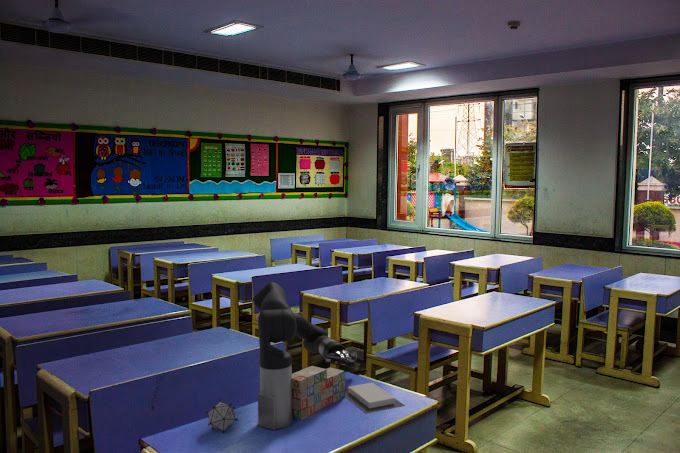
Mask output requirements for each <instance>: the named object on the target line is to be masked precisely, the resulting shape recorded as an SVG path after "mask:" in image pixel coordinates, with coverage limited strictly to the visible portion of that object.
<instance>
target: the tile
mask: <svg viewBox="0 0 680 453" xmlns="http://www.w3.org/2000/svg"><path fill="white" fill-rule="evenodd" d="M347 388H348V392H349V393H350V394H351V395H353V396H354V397H355V398H357V399H358V400H359V401H360V402H362V403H363V404H364V405H365V406H367V407H368V408H376V407H381V406H386V405H391V404H395V399H396V398H395V397H394V396H393V395H391V394H390V393H388V391H385V390H384V389H382V388H381V387H379V386H378V385H377V384H375V383H374V382H368V383H363V384H362V383H361V384H355V385H351V386H348V387H347Z"/></svg>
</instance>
